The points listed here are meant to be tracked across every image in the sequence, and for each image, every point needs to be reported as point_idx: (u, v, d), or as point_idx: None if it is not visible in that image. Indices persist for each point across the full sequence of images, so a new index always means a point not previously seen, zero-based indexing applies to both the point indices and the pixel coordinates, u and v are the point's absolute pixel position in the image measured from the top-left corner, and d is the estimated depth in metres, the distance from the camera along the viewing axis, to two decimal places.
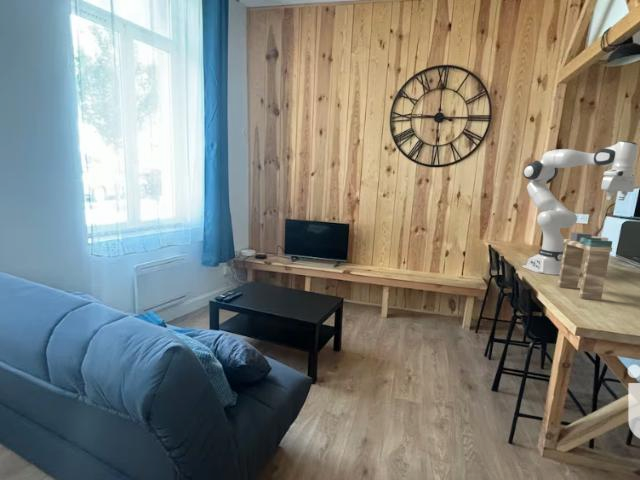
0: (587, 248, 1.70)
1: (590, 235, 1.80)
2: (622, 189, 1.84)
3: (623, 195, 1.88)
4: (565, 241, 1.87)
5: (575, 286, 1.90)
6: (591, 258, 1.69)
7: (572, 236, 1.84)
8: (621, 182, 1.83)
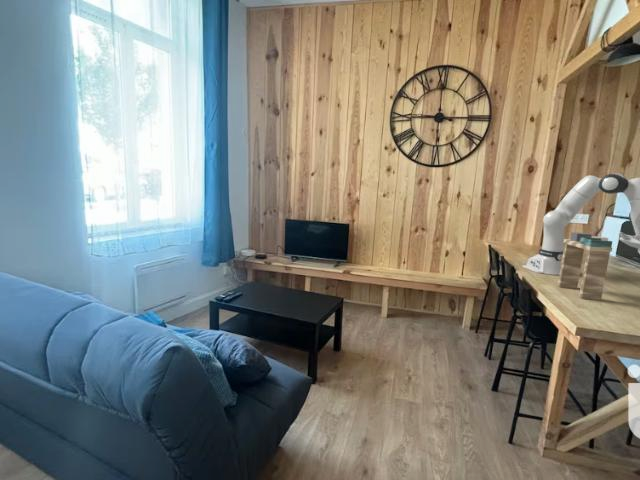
0: (587, 248, 1.70)
1: (590, 235, 1.80)
2: (632, 243, 1.82)
3: (623, 236, 1.86)
4: (565, 241, 1.87)
5: (575, 286, 1.90)
6: (591, 258, 1.69)
7: (572, 236, 1.84)
8: None
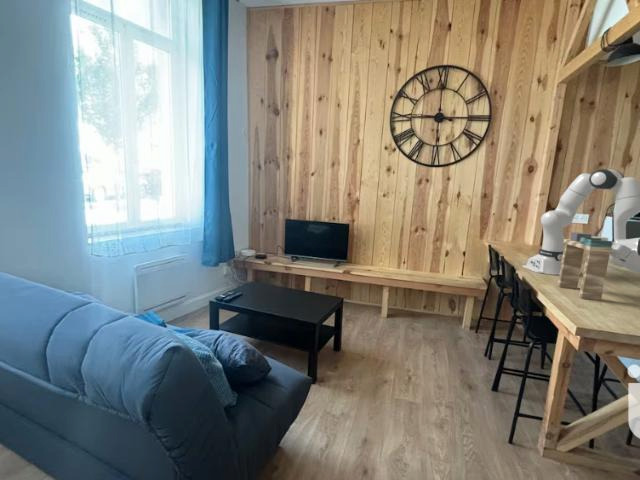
0: (587, 248, 1.70)
1: (590, 235, 1.80)
2: None
3: None
4: (565, 241, 1.87)
5: (575, 286, 1.90)
6: (591, 258, 1.69)
7: (572, 236, 1.84)
8: None
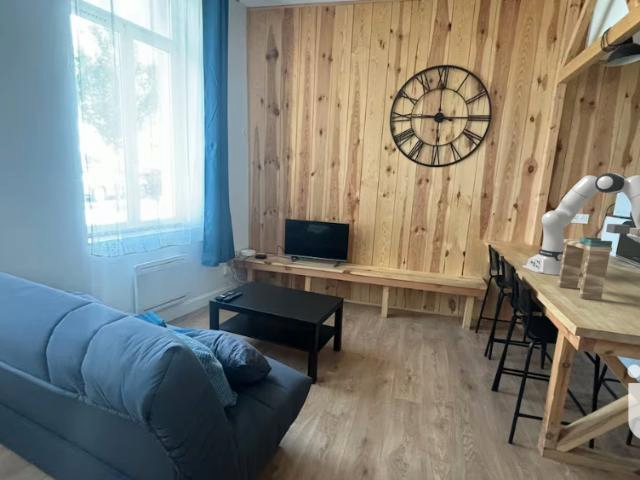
0: (587, 248, 1.70)
1: (629, 226, 1.69)
2: None
3: None
4: (565, 241, 1.87)
5: (575, 286, 1.90)
6: (591, 258, 1.69)
7: (609, 228, 1.73)
8: None
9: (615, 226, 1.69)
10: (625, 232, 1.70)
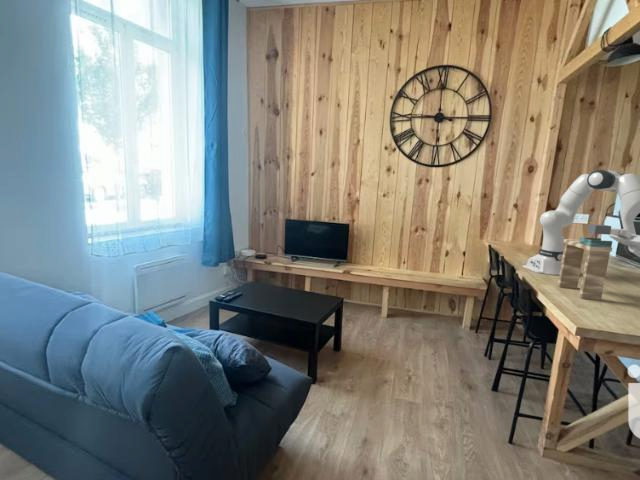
0: (587, 248, 1.70)
1: (610, 227, 1.67)
2: (622, 239, 1.71)
3: None
4: (565, 241, 1.87)
5: (575, 286, 1.90)
6: (591, 258, 1.69)
7: (590, 228, 1.72)
8: (632, 243, 1.69)
9: (596, 226, 1.68)
10: (606, 233, 1.68)
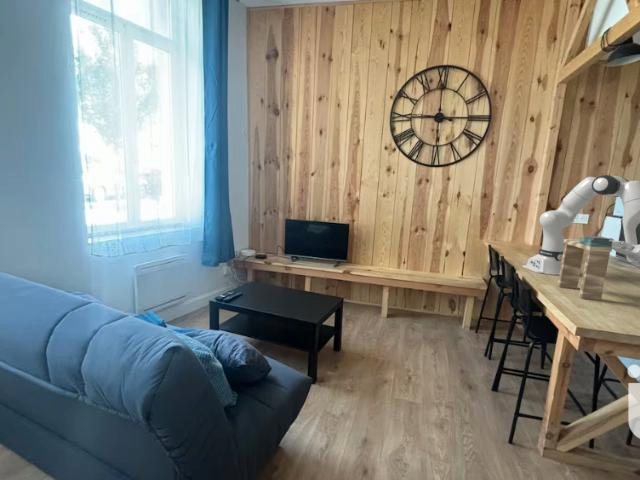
0: (587, 248, 1.70)
1: (607, 239, 1.68)
2: (621, 249, 1.72)
3: None
4: (565, 241, 1.87)
5: (575, 286, 1.90)
6: (591, 258, 1.69)
7: None
8: (630, 254, 1.70)
9: (594, 239, 1.69)
10: None
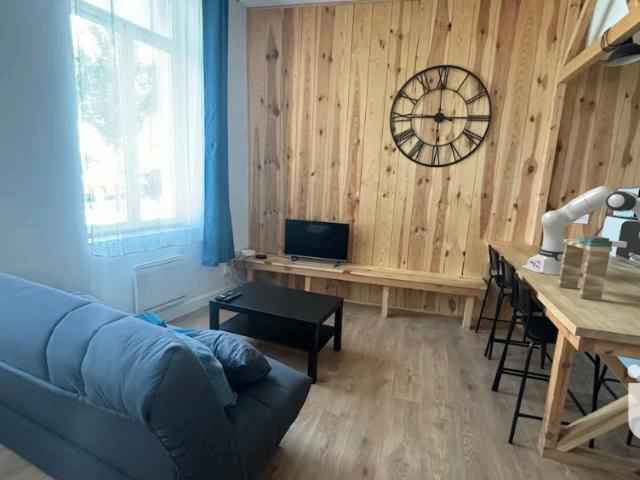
0: (587, 248, 1.70)
1: (607, 239, 1.68)
2: None
3: (633, 256, 1.76)
4: (565, 241, 1.87)
5: (575, 286, 1.90)
6: (591, 258, 1.69)
7: None
8: None
9: (594, 239, 1.69)
10: None
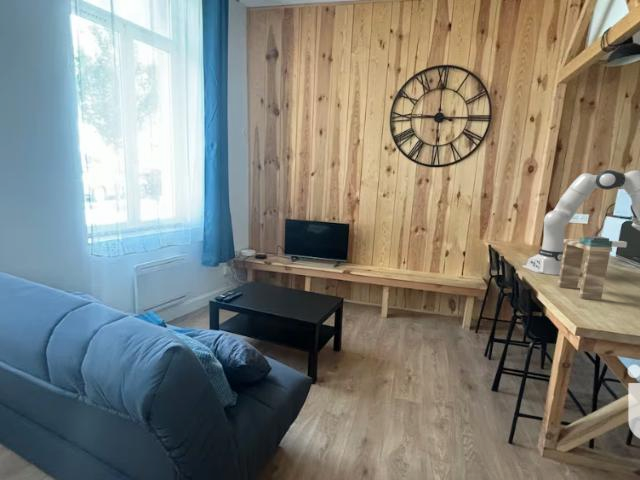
0: (587, 248, 1.70)
1: (607, 239, 1.68)
2: None
3: (636, 221, 1.84)
4: (565, 241, 1.87)
5: (575, 286, 1.90)
6: (591, 258, 1.69)
7: None
8: None
9: (594, 239, 1.69)
10: None
